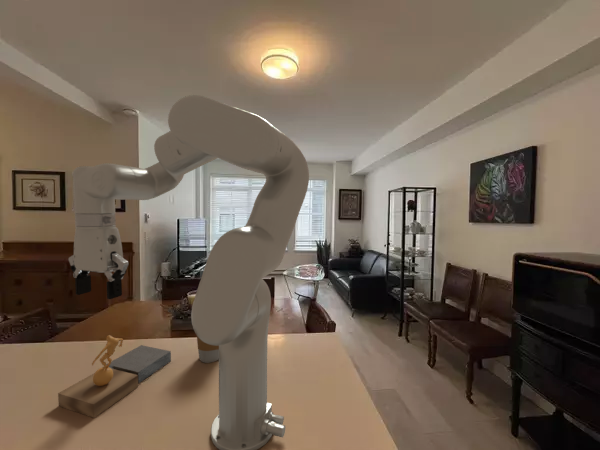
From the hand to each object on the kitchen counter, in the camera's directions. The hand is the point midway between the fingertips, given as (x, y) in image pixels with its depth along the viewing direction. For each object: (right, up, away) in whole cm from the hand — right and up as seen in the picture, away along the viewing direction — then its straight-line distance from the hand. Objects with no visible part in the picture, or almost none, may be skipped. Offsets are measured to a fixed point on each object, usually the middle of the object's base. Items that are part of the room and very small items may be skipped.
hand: (98, 295), depth 65 cm
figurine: (+1, -22, +1) cm, 22 cm away
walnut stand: (0, -24, +1) cm, 24 cm away
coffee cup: (+20, -24, +19) cm, 36 cm away
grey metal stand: (+2, -24, +13) cm, 27 cm away
